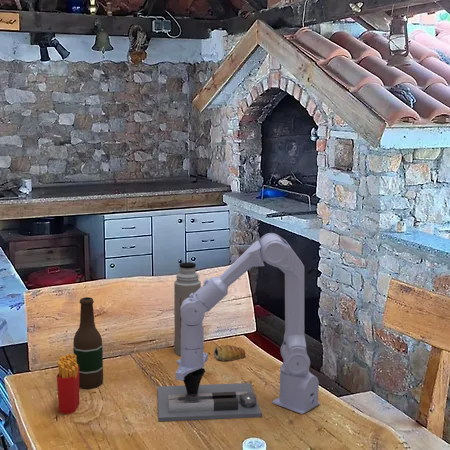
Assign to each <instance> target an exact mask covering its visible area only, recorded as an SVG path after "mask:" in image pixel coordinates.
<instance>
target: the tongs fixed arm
mask: <svg viewBox="0 0 450 450" xmlns="http://www.w3.org/2000/svg"><path fill="white" fill-rule="evenodd" d="M168 402H169V413H174V412H197V411H226V410H238V398H221V399H205V400H180V401H178V399H174V400H168Z"/></svg>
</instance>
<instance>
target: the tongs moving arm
mask: <svg viewBox="0 0 450 450" xmlns="http://www.w3.org/2000/svg"><path fill="white" fill-rule="evenodd" d="M221 398H238V402H241V405H243V406H245V407H252V406H255V405H256V399H257V395H256V393H254V394H253V393H247V392H217V393H202V394H179V395H168V400H174V399H178V401H180V400H205V399H221ZM168 407H169V402H168Z"/></svg>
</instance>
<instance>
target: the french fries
mask: <svg viewBox="0 0 450 450" xmlns="http://www.w3.org/2000/svg"><path fill="white" fill-rule="evenodd" d="M76 356H77V355H75V354H74V353H73V354H72V353H66V354H65V355H63V356H62V355H60V357H59V358H58V362H57V368H58V369H57V370H58V373H57V375H56V383H57V388H56V389H57V401H58V402H57V404H58V413H60V414H62V415H67V414H68V415H70V414H73V413H75V412H76V411H77V409H78V407H79V405H80V388H79V367H78V364H77V359H76Z"/></svg>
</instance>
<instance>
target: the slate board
mask: <svg viewBox="0 0 450 450" xmlns="http://www.w3.org/2000/svg"><path fill="white" fill-rule="evenodd" d="M217 392H247V393H253V394H255V392H254V389H253V386H252V384H251V382H240V383H239V382H238V383H216V384H214V383H212V384H211V383H209V384H200V385H199V389H198V393H197V394H202V393H217ZM179 394H187V390H186V387H185V384H184V385H159V386H157V405H158V406H157V408H158V409H157V410H158V414H157V415H158V417H157V418H158V422H178V421H179V422H180V421H183V422H184V421H201V420H202V421H205V420H206V421H207V420H224V419H225V420H226V419H227V420H230V419H252V418H253V419H254V418H262V415H263V412H262V410H261V407H260V404H259V402H258V400H257V398H256V405H255V406H252V407H245V406H243V405H241V402H238V410H226V411H197V412H174V413H169V407H168V395H179Z"/></svg>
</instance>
